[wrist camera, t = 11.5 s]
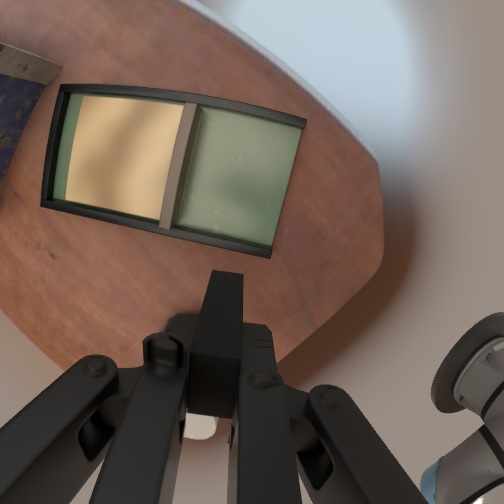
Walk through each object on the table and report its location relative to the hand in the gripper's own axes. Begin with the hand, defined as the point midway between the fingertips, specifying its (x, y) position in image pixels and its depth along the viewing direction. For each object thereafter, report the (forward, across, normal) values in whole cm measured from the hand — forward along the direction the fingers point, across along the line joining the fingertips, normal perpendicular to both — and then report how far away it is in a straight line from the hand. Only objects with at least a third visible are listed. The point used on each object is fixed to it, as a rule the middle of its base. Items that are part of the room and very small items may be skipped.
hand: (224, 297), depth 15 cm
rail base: (+19, -9, +6) cm, 22 cm away
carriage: (+18, -12, +6) cm, 22 cm away
